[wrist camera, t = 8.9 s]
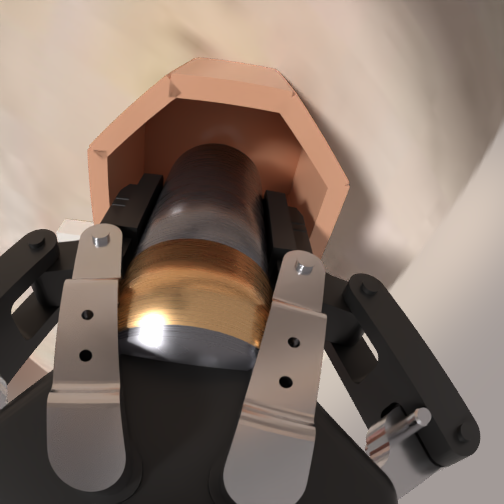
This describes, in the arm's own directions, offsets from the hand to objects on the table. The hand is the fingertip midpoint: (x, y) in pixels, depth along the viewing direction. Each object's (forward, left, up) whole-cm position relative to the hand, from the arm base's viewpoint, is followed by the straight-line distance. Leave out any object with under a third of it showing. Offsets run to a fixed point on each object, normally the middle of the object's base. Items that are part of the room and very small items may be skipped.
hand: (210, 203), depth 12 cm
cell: (0, 0, -1) cm, 1 cm away
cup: (0, 0, -5) cm, 5 cm away
